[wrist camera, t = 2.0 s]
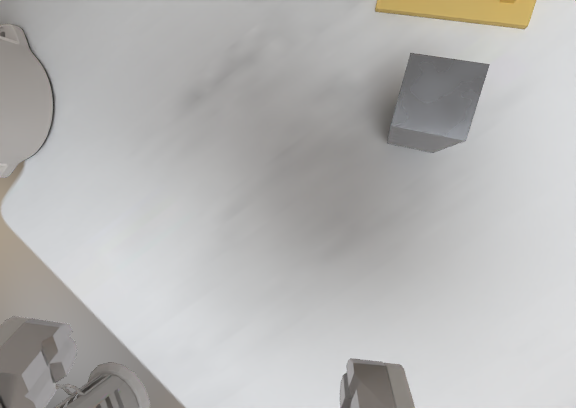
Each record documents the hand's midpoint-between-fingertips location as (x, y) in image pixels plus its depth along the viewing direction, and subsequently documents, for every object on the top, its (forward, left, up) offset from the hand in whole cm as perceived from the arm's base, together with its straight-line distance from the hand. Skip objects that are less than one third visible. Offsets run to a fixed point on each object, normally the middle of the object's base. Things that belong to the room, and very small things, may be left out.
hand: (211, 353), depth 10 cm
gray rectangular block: (+5, +11, -24) cm, 27 cm away
